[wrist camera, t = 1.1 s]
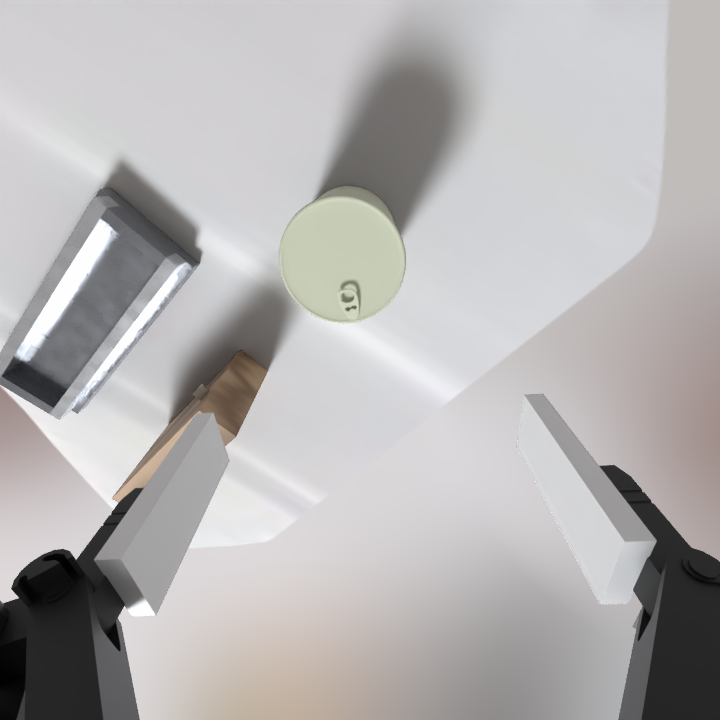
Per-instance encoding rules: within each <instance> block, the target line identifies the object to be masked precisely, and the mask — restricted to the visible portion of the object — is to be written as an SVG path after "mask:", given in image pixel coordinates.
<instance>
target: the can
mask: <svg viewBox="0 0 720 720" xmlns="http://www.w3.org/2000/svg"><path fill="white" fill-rule="evenodd" d="M279 266H280V272H281V275H282V279H283V281H284V284H285V286H286V288H287V290H288V292H289V293H290V295H291V296H292V298H293V299H294V300H295V301H296V302H297V303H298V304H299V305H300V306H301V307H302V308H303V309H304V310H306V311H307V312H309V313H310V314H312V315H313V316H315V317H318V318H320V319H322V320H325V321H329V322H334V323H354V322H359V321H363V320H366V319H368V318H370V317H372V316H374V315H376V314H378V313H379V312H381V311H382V310H383V309H384V308H385V307H386V306H388V304H389V303H390V302H391V301H392V300H393V299H394V297H395V296H396V294H397V292H398V291H399V289H400V286H401V284H402V281H403V278H404V274H405V268H406V254H405V248H404V244H403V240H402V238H401V235H400V233H399V231H398V229H397V227H396V225H395V223H394V220H393V217H392V215H391V212H390V211H389V209H388V207H387V206H386V205H385V203H384V202H383V201H382V200H381V199H380V198H379V197H378V196H376V195H375V194H374V193H372V192H370V191H368V190H366V189H363V188H360V187H356V186H341V187H337V188H334V189H331V190H329V191H327V192H325V193H324V194H322V195H321V196H320V197H319V198H318V199H317V200H315V201H313V202H311V203H310V204H308V205H306V206H305V207H304V208H302V209H301V210H300V211H299V212H298V213H297V214H296V215H295V216H294V217H293V218H292V220H291V221H290V222H289V224H288V226H287V227H286V229H285V232H284V234H283V237H282V240H281V244H280V250H279Z"/></svg>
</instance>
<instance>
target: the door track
mask: <svg viewBox="0 0 720 720" xmlns="http://www.w3.org/2000/svg"><path fill="white" fill-rule="evenodd" d="M198 265H199V263H198V262H197V261H195V260H194V259H193V258H192V257H191V256H190V255H188V254H187V253H186V252H185V251H184V250H183V249H181V248H180V247H179V246H178V245H177V244H176V243H174V242H173V241H172V240H171V239H170V238H168V237H167V236H166V235H165V234H164V233H163V232H161V231H160V230H159V229H158V228H157V227H156V226H154V225H153V224H152V223H151V222H150V221H149V220H147V219H146V218H145V217H144V216H143V215H142V214H140V213H139V212H138V211H137V210H136V209H134V208H133V207H132V206H131V205H130V204H129V203H127V202H126V201H125V200H124V199H123V198H122V197H120V196H119V195H118V194H117V193H116V192H115V191H113V190H112V189H111V188H105V189H100V190H99V192H98V193H97V195H96V197H94V198H93V200H92V201H91V203H90V205H89V206H88V208H87V210H86V211H85V213H84V215H83V216H82V218H81V220H80V221H79V223H78V225H77V226H76V228H75V229H74V231H73V233H72V234H71V236H70V238H69V239H68V241H67V243H66V244H65V246H64V248H63V249H62V251H61V253H60V254H59V256H58V258H57V259H56V261H55V263H54V264H53V266H52V268H51V269H50V271H49V273H48V274H47V276H46V278H45V279H44V281H43V283H42V284H41V286H40V288H39V289H38V291H37V293H36V294H35V296H34V298H33V299H32V301H31V303H30V304H29V306H28V308H27V309H26V311H25V313H24V314H23V316H22V318H21V319H20V321H19V323H18V324H17V326H16V328H15V329H14V331H13V332H12V334H11V336H10V337H9V339H8V341H7V342H6V344H5V346H4V347H3V349H2V351H1V352H0V385H2V386H4V387H5V388H7V389H9V390H10V391H12V392H14V393H15V394H17V395H19V396H20V397H22V398H24V399H25V400H27V401H29V402H30V403H32V404H34V405H35V406H37V407H39V408H40V409H42V410H44V411H45V412H47V413H49V414H50V415H52V416H54V417H55V418H57V419H59V420H60V419H61V418H62V417H63V416H65V415H66V414H67V413H68V412H70V411H71V410H72V411H74V412H76V413H77V414H78V413H79V412H80V411H81V410H83V409H84V408H85V407H86V406H87V405H88V403H89V402H90V401H91V400H92V398H93V397H94V396H95V395H96V393H97V392H98V391H99V390H100V388H101V387H102V386H103V385H104V383H105V382H106V381H107V380H108V378H109V377H110V376H111V374H112V373H113V372H114V371H115V369H116V368H117V367H118V366H119V364H120V363H121V362H122V361H123V359H124V358H125V357H126V356H127V354H128V353H129V352H130V351H131V349H132V348H133V347H134V346H135V344H136V343H137V342H138V341H139V339H140V338H141V337H142V336H143V334H144V333H145V332H146V331H147V329H148V328H149V327H150V326H151V324H152V323H153V322H154V321H155V319H156V318H157V317H158V316H159V314H160V313H161V312H162V311H163V309H164V308H165V307H166V306H167V304H168V303H169V302H170V300H171V299H172V298H173V297H174V295H175V294H176V293H177V292H178V290H179V289H180V288H181V287H182V285H183V284H184V283H185V282H186V280H187V279H188V278H189V277H190V275H191V274H192V273H193V272H194V270H195V269H196V268H197V267H198Z"/></svg>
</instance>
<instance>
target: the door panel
mask: <svg viewBox="0 0 720 720" xmlns="http://www.w3.org/2000/svg"><path fill="white" fill-rule="evenodd" d="M267 372H268V371H267V370H266V369H265V368H263V367H262V366H261V365H260V364H258V363H257V362H256V361H254V360H253V359H252V358H251V357H249V356H248V355H247V354H246V353H244V352H243V351H242V350H240V351H239V352H238V353H237V354H236V355H235V356H234V357H233V358H232V360H231V361H230V362H229V363H228V364H227V365H226V366H225V367H224V368H223V369H222V370H221V371H220V372H219V373H218V374H217V375H216V376H215V377H214V378H213V379H212V380H211V381H210V382H209V383H208V384H207V385H206V387H205V386H204V385H203V384H201V385H200V386H199V387H198V388H197V389H196V391H195V392H194V393H193V394H192V395H193V396H194V397H195V398H194V399H193V400H192V401H191V402H190V403H189V404H188V405H187V406H186V407H185V408H184V409H183V410H182V411H181V412H180V413H179V415H178V416H177V417H176V418H175V419H174V420H173V421H172V422H171V423H170V424H169V425H168V426H167V427H166V429H165V430H164V431H163V433H162V434H161V435H160V436H159V438H158V439H157V440H156V442H155V443H154V444H153V446H152V447H151V448H150V449H149V451H148V452H147V453H146V455H145V456H144V457H143V459H142V460H141V461H140V462H139V464H138V465H137V466H136V468H135V469H134V470H133V472H132V473H131V474H130V475H129V477H128V478H127V479H126V481H125V482H124V483H123V485H122V486H121V487H120V488H119V490H118V491H117V492H116V494H115V495H114V496H113V498H112V499H113V500H115V501H117V502H118V503H119V502H120V501H121V499H123V498H124V497H125V496H126V495H127V494H129V493H130V492H131V491H132V490H133V489H135V488H144V487H145V486H146V485H147V483H148V482H149V480H150V479H151V477H152V476H153V475H154V473H155V472H156V470H157V469H158V467H159V466H160V465H161V463H162V462H163V460H164V459H165V457H166V456H167V455H168V453H169V452H170V450H171V449H172V447H173V446H174V445H175V443H176V442H177V440H178V439H179V437H180V436H181V435H182V433H183V432H184V430H185V429H186V427H187V426H188V425H189V423H190V422H191V420H192V419H193V417H194V416H195V415H196V414H198V413H214V416H215V419H216V422H217V425H218V428H219V431H220V434H221V437H222V440H223V443H224V446H226V445H227V444H228V443H229V442H231V441H232V440H233V439H234V438H235V437H236V436H237V434H238V432H239V429H240V427H241V425H242V423H243V421H244V419H245V417H246V415H247V413H248V411H249V409H250V407H251V405H252V403H253V401H254V399H255V397H256V395H257V392H258V390H259V388H260V386H261V384H262V382H263V380H264V378H265V376H266V374H267Z"/></svg>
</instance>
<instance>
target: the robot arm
mask: <svg viewBox="0 0 720 720" xmlns="http://www.w3.org/2000/svg"><path fill="white" fill-rule="evenodd" d="M516 447H517V449H518V451H519V452H520V454H521V456H522V458H523V460H524V462H525V463H526V466H527V468H528V469H529V471H530V473H531V475H532V477H533V479H534V481H535V483H536V484H537V486H538V488H539V490H540V492H541V494H542V496H543V498H544V500H545V502H546V503H547V505H548V507H549V509H550V511H551V513H552V515H553V517H554V519H555V520H556V522H557V524H558V526H559V528H560V530H561V532H562V534H563V535H564V537H565V539H566V541H567V543H568V545H569V547H570V549H571V550H572V552H573V554H574V556H575V558H576V560H577V562H578V564H579V566H580V568H581V569H582V571H583V573H584V575H585V577H586V579H587V581H588V583H589V585H590V586H591V588H592V590H593V592H594V594H595V596H596V598H597V600H598V601H599V603H600V605H601V604H628V603H629V601H630V598H631V596H632V594H633V592H635V594H636V595H637V597H638V599H639V600H640V602H641V603H642V605H643V607H642V609H641V611H640V613H639V615H638V617H637V619H636V621H635V623H634V625H633V627H634V628H636V635H635V639H634V644H633V649H632V654H631V660H630V664H629V669H628V674H627V680H626V684H625V689H624V694H623V700H622V705H621V709H620V715H619V720H720V562H719V561H718V560H717V559H715V558H713V557H712V556H710V555H708V554H706V553H705V552H703V551H700V550H696V549H693V548H691V547H690V546H689V545H688V543H687V542H686V541H685V540H684V539H683V538H682V537H681V535H680V534H679V533H678V532H677V531H676V530H675V528H674V527H673V526H672V525H671V523H670V522H669V521H668V520H667V519H666V518H665V516H664V515H663V514H662V513H661V512H660V510H659V509H658V508H657V507H656V506H655V505H654V504H652V503H651V500H650V499H649V498H648V496H647V495H646V494H645V493H643V492H642V489H641V488H640V487H639V486H638V485H637V483H636V482H635V481H634V480H633V479H632V477H631V476H629V475H628V474H626V473H625V472H624V471H622V470H621V469H619V468H618V467H616V466H615V465H608V466H599V465H598V464H597V463H596V461H595V460H594V459H593V457H592V456H591V455H590V454H589V452H588V451H587V450H586V448H585V447H584V446H583V445H582V443H581V442H580V441H579V439H578V438H577V437H576V436H575V434H574V433H573V432H572V430H571V429H570V428H569V427H568V425H567V424H566V423H565V421H564V420H563V419H562V417H561V416H560V415H559V413H558V412H557V411H556V410H555V408H554V407H553V406H552V405H551V403H550V402H549V401H548V399H547V398H546V397H545V396H544V394H530V395H524V399H523V406H522V412H521V419H520V425H519V432H518V439H517V445H516ZM228 462H229V458H228V455H227V452H226V449H225V446H224V443H223V440H222V437H221V434H220V431H219V428H218V425H217V422H216V419H215V416H214V413H198V414H196V415H195V416H194V417H193V419H192V420H191V422H190V423H189V425H188V426H187V427H186V429H185V430H184V432H183V433H182V435H181V436H180V437H179V439H178V440H177V442H176V443H175V445H174V446H173V447H172V449H171V450H170V452H169V453H168V455H167V456H166V457H165V459H164V460H163V462H162V463H161V465H160V466H159V467H158V469H157V470H156V472H155V473H154V475H153V476H152V477H151V479H150V480H149V482H148V483H147V485H146V486H145V487H144V488H135V489H133V490H132V491H131V492H130V493H129V494H127V495H126V496H125V497H124V498H123V499H121V501H120V502H119V503H118V505H117V506H116V507H115V509H114V510H113V511H112V514H111V515H110V516H109V517H108V518H107V519H106V521H105V522H104V525H103V526H101V528H100V529H99V530H98V532H97V533H96V534H95V536H94V537H93V538H92V540H91V541H90V542H89V544H88V545H87V546H86V548H85V549H84V551H83V552H82V553H81V554H80V556H79V557H78V558H77V560H76V559H75V558H74V557H73V555H72V554H71V553H70V551H68V550H64V549H60V550H53V551H51V552H48V553H46V554H43V555H41V556H40V557H38V558H37V559H35V560H34V561H32V562H31V563H30V564H28V565H27V566H26V567H25V568H24V569H23V570H22V571H21V572H20V573H19V575H18V576H17V577H16V579H15V580H14V583H13V585H12V588H11V589H12V590H13V591H14V592H15V594H16V595H17V596H18V597H19V599H15V600H12V601H9V602H6V603H2V602H1V601H0V720H140V719H139V714H138V709H137V704H136V699H135V694H134V688H133V683H132V678H131V673H130V668H129V663H128V658H127V652H126V647H125V642H124V637H123V632H122V626H121V623H120V621H119V620H118V616H119V614H120V613H121V611H122V609H123V607H124V606H125V607H126V608H127V610H128V611H129V613H130V614H131V616H156V614H157V612H158V610H159V608H160V606H161V604H162V602H163V600H164V597H165V595H166V593H167V591H168V589H169V587H170V585H171V583H172V581H173V579H174V576H175V574H176V572H177V570H178V568H179V566H180V564H181V562H182V560H183V557H184V555H185V553H186V551H187V549H188V547H189V545H190V543H191V541H192V538H193V536H194V534H195V532H196V530H197V528H198V526H199V524H200V522H201V519H202V517H203V515H204V513H205V511H206V509H207V507H208V505H209V503H210V500H211V498H212V496H213V494H214V492H215V490H216V488H217V486H218V484H219V481H220V479H221V477H222V475H223V473H224V471H225V469H226V467H227V465H228Z"/></svg>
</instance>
